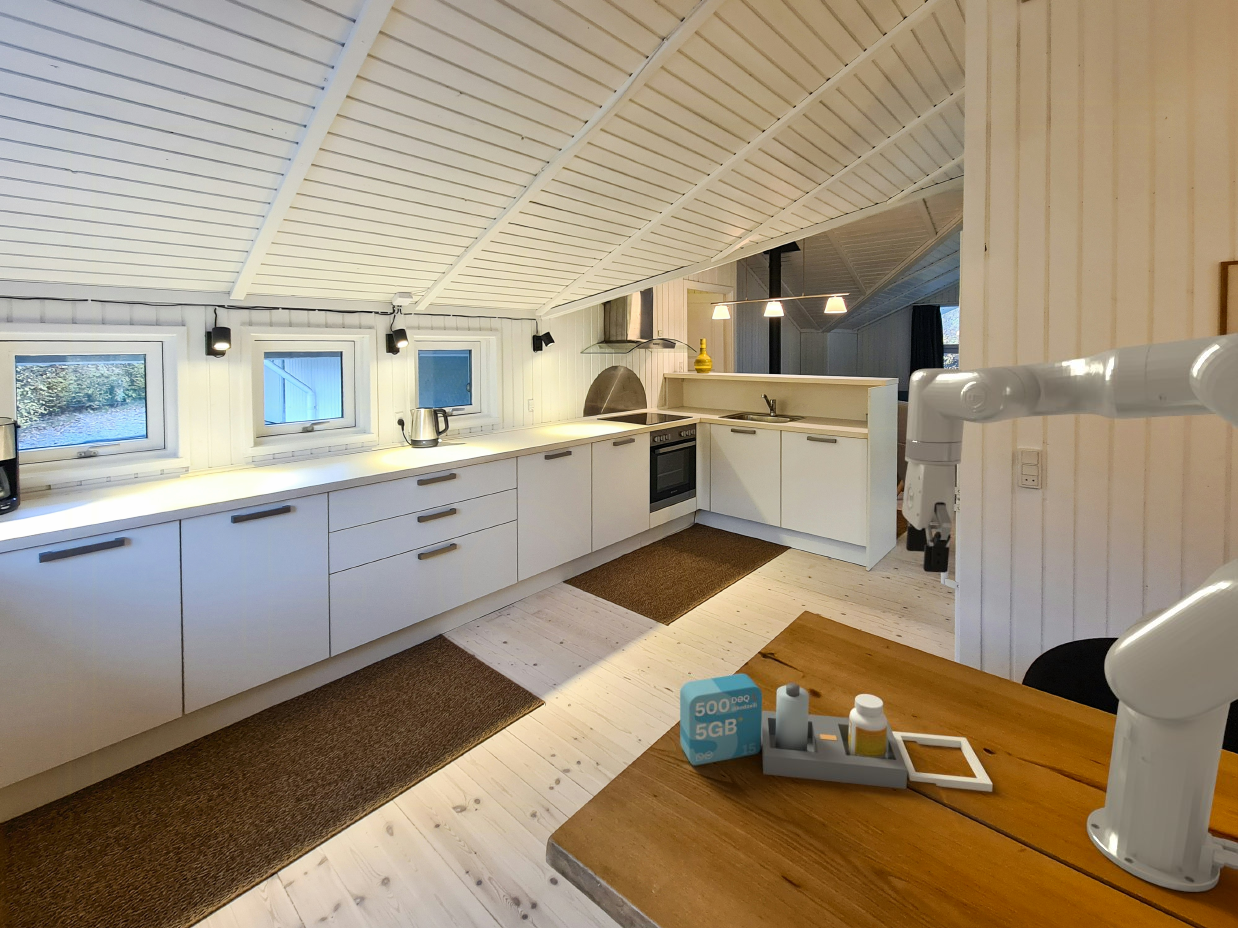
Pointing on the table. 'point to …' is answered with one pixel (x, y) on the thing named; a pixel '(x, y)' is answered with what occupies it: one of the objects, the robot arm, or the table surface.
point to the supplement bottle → (867, 728)
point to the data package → (720, 718)
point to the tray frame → (945, 780)
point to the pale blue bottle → (792, 717)
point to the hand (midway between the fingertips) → (925, 560)
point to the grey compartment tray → (831, 755)
